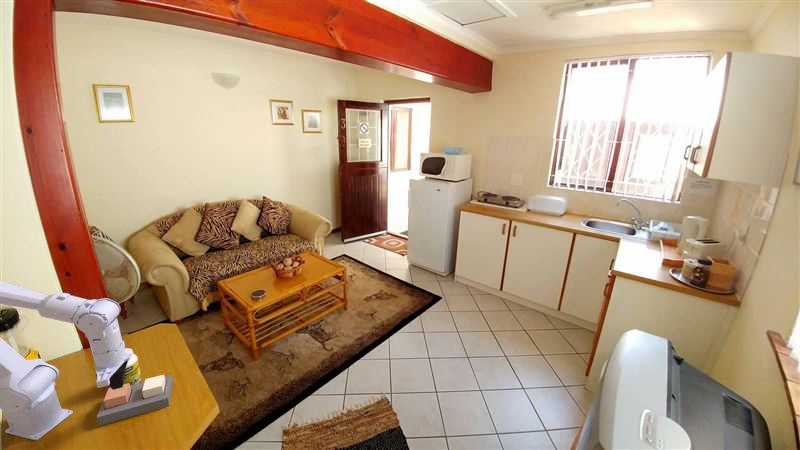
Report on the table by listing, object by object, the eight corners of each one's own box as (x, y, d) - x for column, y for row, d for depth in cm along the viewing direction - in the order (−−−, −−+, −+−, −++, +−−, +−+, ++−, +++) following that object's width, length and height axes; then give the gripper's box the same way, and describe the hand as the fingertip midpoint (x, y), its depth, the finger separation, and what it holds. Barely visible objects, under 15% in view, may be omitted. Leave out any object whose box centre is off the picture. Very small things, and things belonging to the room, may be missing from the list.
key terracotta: (106, 409, 82) (103, 400, 81) (111, 396, 86) (108, 388, 85) (127, 403, 84) (125, 395, 83) (131, 391, 88) (129, 383, 87)
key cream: (144, 399, 86) (142, 390, 85) (147, 387, 89) (145, 379, 88) (163, 394, 88) (161, 385, 87) (165, 382, 92) (164, 374, 91)
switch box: (99, 425, 80) (96, 417, 79) (109, 398, 88) (107, 390, 87) (169, 405, 88) (167, 397, 87) (173, 382, 95) (171, 374, 94)
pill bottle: (126, 393, 90) (119, 363, 86) (109, 387, 91) (101, 358, 87) (146, 377, 96) (141, 348, 92) (130, 372, 97) (124, 344, 93)
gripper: (119, 361, 73) (130, 403, 77) (134, 325, 85) (143, 363, 89) (79, 370, 69) (93, 413, 74) (101, 330, 81) (111, 370, 86)
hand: (118, 386), depth 81 cm, fingers closed
